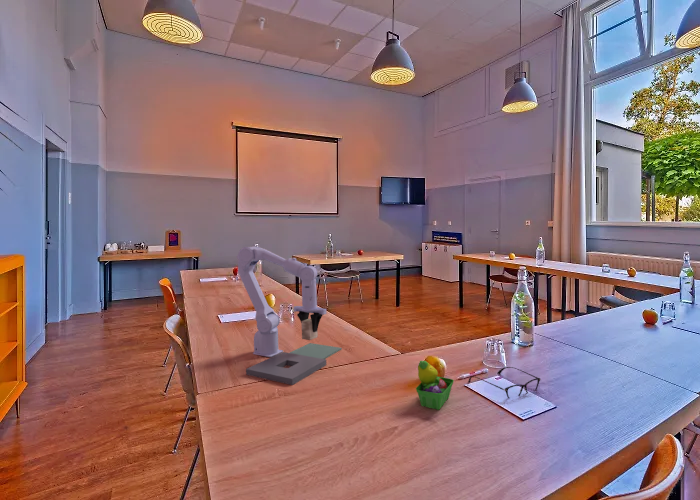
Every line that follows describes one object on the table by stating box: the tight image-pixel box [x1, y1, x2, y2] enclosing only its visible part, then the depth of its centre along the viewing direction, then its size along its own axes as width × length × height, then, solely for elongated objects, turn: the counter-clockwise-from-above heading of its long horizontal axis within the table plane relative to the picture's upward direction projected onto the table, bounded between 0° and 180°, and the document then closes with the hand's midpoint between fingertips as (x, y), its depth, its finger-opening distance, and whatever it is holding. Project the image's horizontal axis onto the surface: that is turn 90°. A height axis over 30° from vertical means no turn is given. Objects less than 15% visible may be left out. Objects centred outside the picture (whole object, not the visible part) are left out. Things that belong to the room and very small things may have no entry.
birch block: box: [300, 318, 318, 341], centre depth 146 cm, size 4×5×7 cm
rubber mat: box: [289, 342, 343, 360], centre depth 150 cm, size 16×16×1 cm
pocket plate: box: [245, 351, 327, 386], centre depth 132 cm, size 20×20×2 cm
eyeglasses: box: [468, 366, 541, 399], centre depth 115 cm, size 16×16×4 cm
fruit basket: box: [415, 360, 455, 411], centre depth 105 cm, size 11×9×11 cm
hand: (310, 330), depth 147 cm, fingers closed on birch block, 4 cm apart
